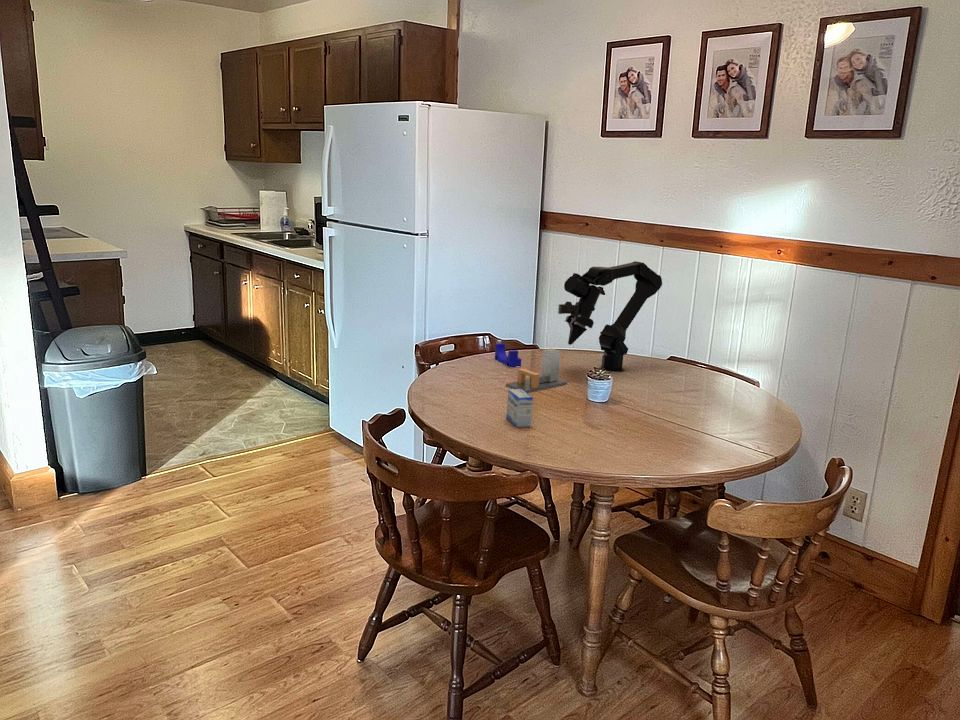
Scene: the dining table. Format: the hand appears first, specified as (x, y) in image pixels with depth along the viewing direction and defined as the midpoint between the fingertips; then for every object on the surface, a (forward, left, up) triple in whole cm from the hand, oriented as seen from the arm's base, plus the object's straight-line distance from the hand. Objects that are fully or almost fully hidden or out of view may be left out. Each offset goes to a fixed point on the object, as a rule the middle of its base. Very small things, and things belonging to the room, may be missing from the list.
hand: (569, 344), depth 255 cm
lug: (+17, +13, -10) cm, 24 cm away
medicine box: (+28, +46, -11) cm, 55 cm away
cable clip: (+17, -17, -11) cm, 27 cm away
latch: (+11, +9, -10) cm, 18 cm away
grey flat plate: (+14, +11, -11) cm, 21 cm away
